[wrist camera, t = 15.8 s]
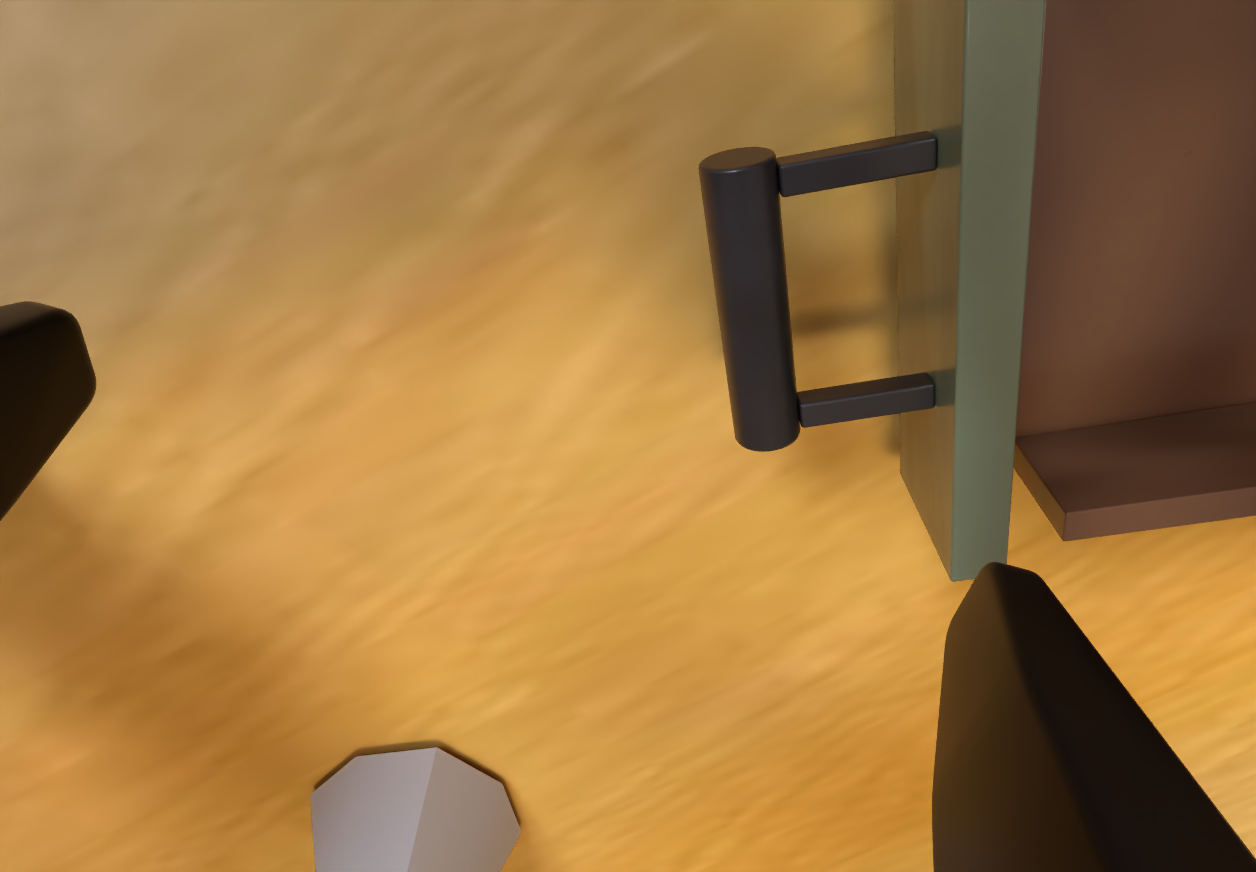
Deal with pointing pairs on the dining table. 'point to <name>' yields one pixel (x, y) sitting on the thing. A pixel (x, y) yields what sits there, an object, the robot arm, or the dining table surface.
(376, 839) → the flask
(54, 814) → the dining table surface
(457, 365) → the dining table surface
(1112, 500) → the drawer
